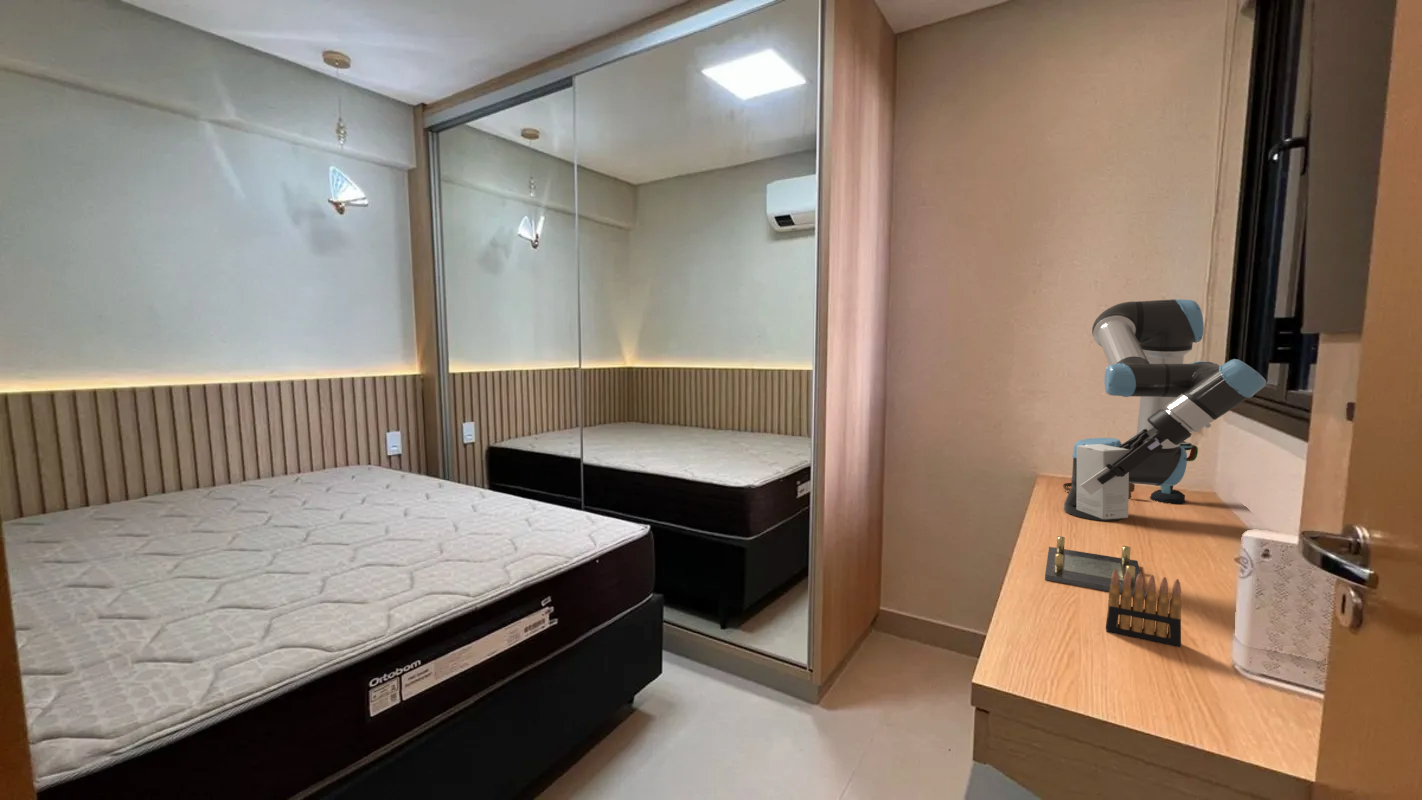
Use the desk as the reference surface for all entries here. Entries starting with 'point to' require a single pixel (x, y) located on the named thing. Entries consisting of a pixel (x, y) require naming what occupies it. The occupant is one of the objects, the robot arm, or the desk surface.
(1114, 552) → the desk surface
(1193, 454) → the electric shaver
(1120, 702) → the desk surface
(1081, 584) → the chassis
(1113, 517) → the skincare box
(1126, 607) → the ammunition clip
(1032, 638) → the desk surface
